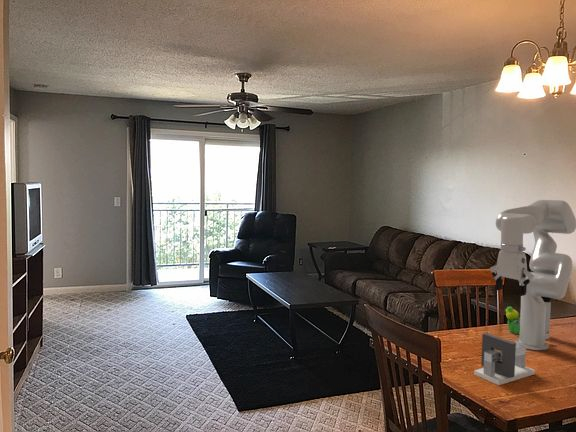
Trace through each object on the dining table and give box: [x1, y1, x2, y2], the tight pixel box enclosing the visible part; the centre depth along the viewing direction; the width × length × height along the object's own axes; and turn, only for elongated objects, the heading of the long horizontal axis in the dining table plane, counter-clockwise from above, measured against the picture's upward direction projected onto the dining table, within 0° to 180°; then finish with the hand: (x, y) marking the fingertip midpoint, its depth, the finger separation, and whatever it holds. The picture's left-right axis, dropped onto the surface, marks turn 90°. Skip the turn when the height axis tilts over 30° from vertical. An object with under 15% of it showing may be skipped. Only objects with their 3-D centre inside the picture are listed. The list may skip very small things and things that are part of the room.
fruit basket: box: [505, 306, 520, 335], centre depth 215 cm, size 11×9×11 cm
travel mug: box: [541, 296, 552, 336], centre depth 206 cm, size 6×7×20 cm
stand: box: [473, 354, 536, 386], centre depth 165 cm, size 20×10×6 cm, turn 119°
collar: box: [481, 332, 516, 378], centre depth 163 cm, size 2×12×12 cm, turn 29°
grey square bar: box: [484, 343, 527, 363], centre depth 165 cm, size 19×3×3 cm, turn 119°
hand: (510, 292), depth 175 cm, fingers open, 9 cm apart
